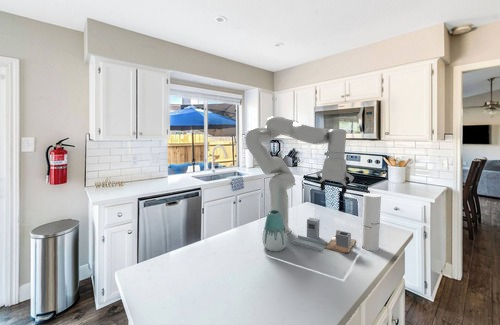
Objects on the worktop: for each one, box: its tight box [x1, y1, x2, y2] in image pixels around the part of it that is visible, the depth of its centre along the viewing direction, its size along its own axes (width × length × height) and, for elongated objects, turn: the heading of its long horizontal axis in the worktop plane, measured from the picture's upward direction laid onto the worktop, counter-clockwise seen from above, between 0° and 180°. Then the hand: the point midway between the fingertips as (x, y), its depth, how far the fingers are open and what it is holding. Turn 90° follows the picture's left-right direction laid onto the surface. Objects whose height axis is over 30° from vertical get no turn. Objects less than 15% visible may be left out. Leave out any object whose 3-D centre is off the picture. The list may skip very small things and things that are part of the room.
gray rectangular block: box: [306, 217, 320, 240], centre depth 124 cm, size 5×4×10 cm
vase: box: [261, 209, 288, 252], centre depth 113 cm, size 12×12×18 cm
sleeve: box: [335, 230, 352, 252], centre depth 110 cm, size 5×5×7 cm
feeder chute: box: [291, 234, 328, 252], centre depth 117 cm, size 14×8×2 cm, turn 54°
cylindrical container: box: [360, 192, 382, 252], centre depth 113 cm, size 7×7×25 cm
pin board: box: [324, 229, 357, 255], centre depth 116 cm, size 11×16×6 cm
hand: (332, 191), depth 115 cm, fingers open, 9 cm apart
